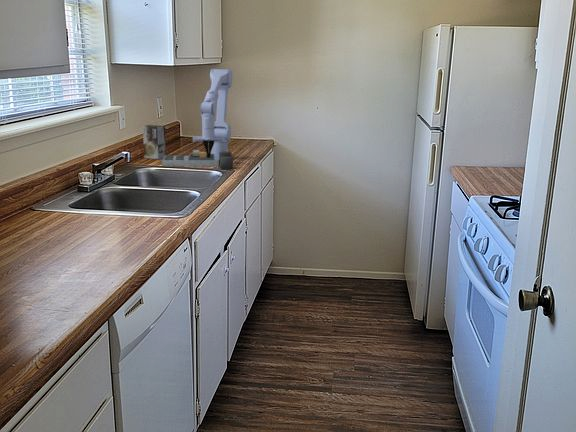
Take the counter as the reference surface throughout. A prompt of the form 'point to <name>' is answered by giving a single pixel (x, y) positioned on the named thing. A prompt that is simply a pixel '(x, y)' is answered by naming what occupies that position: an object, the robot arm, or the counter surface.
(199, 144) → the counter surface
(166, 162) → the power strip
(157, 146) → the coffee box
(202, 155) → the toggle
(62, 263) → the counter surface
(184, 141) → the counter surface
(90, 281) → the counter surface
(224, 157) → the pair of grey cylinders
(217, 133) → the robot arm
